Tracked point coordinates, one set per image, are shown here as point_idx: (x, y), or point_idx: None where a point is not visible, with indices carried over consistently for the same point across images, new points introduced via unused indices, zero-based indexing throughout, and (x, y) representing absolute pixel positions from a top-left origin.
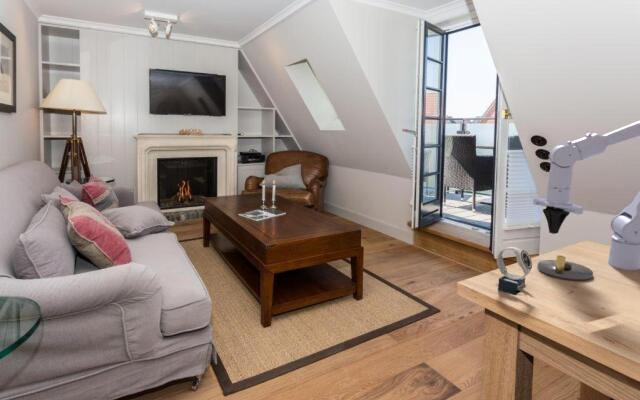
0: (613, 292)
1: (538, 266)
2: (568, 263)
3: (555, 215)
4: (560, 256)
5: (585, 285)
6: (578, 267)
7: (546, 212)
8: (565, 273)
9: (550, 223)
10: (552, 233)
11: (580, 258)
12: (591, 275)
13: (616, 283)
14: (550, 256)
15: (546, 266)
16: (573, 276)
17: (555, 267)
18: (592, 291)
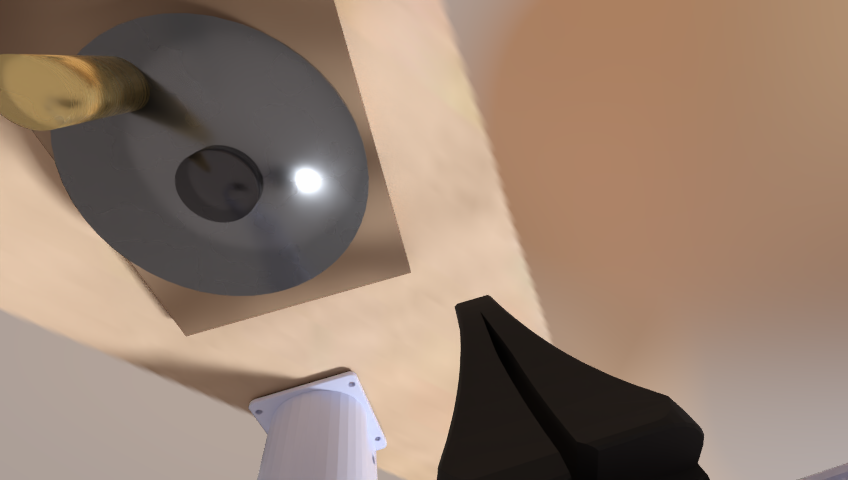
0: (43, 262)
1: (257, 31)
2: (228, 213)
3: (464, 446)
4: (35, 93)
5: None
6: (241, 257)
7: (607, 412)
8: (116, 120)
9: (506, 345)
10: (461, 303)
11: (456, 361)
12: (116, 249)
13: (174, 332)
14: (505, 273)
15: (251, 85)
16: (62, 135)
17: (105, 61)
18: (28, 176)
